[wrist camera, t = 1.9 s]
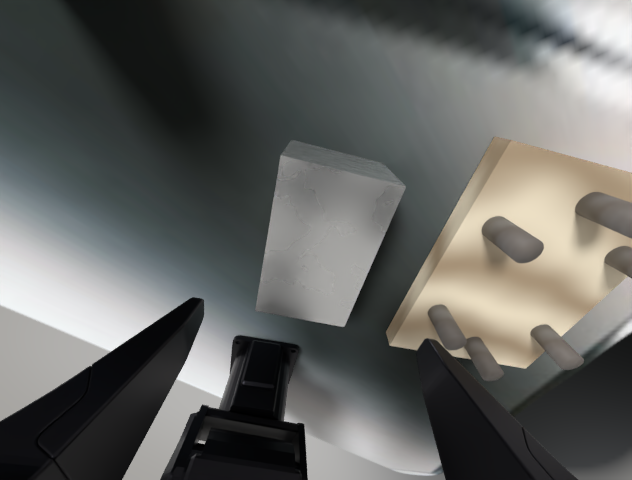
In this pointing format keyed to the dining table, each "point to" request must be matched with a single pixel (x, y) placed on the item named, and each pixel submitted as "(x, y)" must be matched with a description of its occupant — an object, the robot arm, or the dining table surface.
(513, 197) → the pin tray
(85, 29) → the dining table surface
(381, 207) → the block
